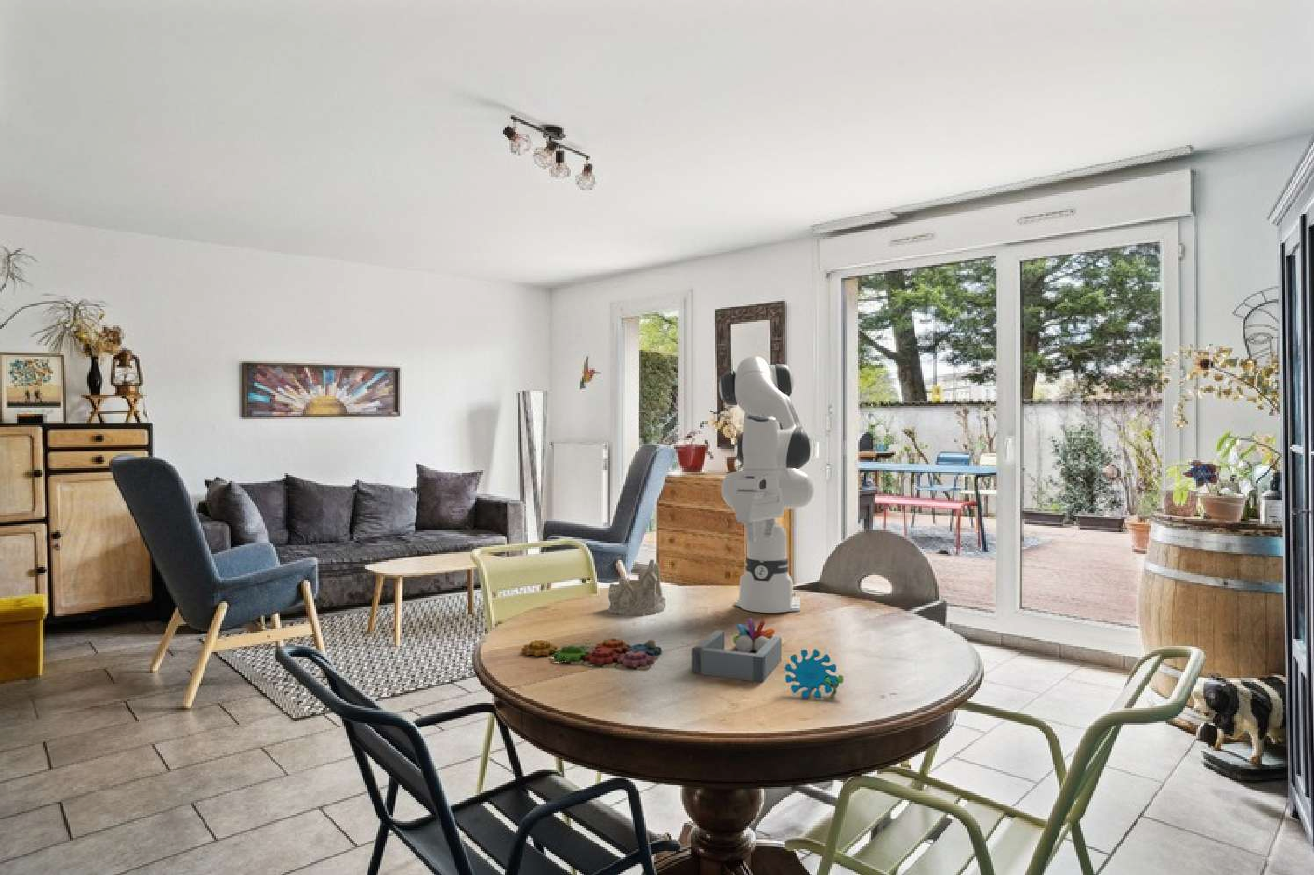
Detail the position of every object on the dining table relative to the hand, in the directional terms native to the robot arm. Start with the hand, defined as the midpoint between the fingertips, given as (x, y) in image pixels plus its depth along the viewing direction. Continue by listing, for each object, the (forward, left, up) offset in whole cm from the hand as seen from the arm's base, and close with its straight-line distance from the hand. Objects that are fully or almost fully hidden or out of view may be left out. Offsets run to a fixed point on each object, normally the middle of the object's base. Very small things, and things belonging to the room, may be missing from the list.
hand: (760, 539), depth 186 cm
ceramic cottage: (-17, -40, -24) cm, 50 cm away
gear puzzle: (+29, -31, -25) cm, 49 cm away
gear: (+34, +19, -24) cm, 46 cm away
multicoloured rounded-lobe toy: (+10, +1, -24) cm, 26 cm away
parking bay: (+23, +1, -24) cm, 33 cm away
